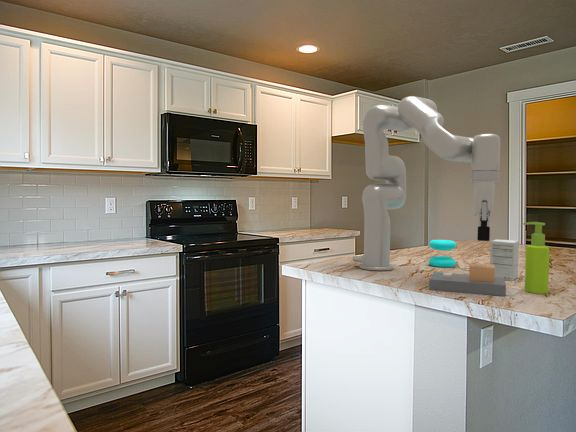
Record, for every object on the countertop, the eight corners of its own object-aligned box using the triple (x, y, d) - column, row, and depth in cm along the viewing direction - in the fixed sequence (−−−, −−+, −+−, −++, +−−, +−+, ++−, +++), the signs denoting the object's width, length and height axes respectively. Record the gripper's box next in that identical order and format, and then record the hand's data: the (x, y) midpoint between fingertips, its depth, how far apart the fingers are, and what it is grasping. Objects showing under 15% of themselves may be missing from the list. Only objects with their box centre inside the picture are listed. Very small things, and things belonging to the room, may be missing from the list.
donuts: (424, 240, 174) (436, 238, 181) (424, 265, 174) (435, 263, 181) (449, 242, 166) (460, 240, 174) (448, 268, 167) (460, 266, 174)
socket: (429, 289, 129) (429, 276, 129) (433, 281, 142) (434, 269, 142) (505, 296, 121) (506, 282, 121) (503, 286, 134) (503, 274, 134)
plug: (468, 289, 128) (469, 266, 128) (469, 285, 134) (470, 263, 134) (494, 291, 126) (494, 268, 125) (493, 287, 132) (494, 264, 131)
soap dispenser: (524, 288, 133) (527, 221, 132) (550, 291, 128) (553, 222, 127) (517, 290, 128) (520, 222, 128) (544, 294, 124) (547, 223, 123)
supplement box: (495, 275, 154) (496, 239, 154) (518, 277, 150) (519, 240, 149) (488, 278, 149) (490, 240, 148) (513, 280, 144) (514, 242, 143)
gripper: (471, 178, 137) (469, 238, 138) (470, 176, 123) (468, 242, 124) (498, 178, 134) (496, 239, 135) (500, 176, 120) (498, 243, 121)
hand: (483, 240), depth 129 cm, fingers closed
